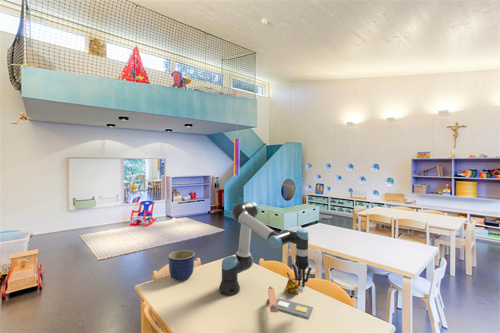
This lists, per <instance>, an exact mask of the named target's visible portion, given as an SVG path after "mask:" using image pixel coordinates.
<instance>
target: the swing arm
mask: <svg viewBox="0 0 500 333" xmlns="http://www.w3.org/2000/svg"><path fill="white" fill-rule="evenodd" d="M275 293H276V292H275V288H273V286H268V288H267V295H268V299H269V304H268V305H269V311H270V313H278V310H277V304H276V300H277V299H276V294H275Z"/></svg>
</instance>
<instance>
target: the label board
mask: <svg viewBox="0 0 500 333" xmlns="http://www.w3.org/2000/svg"><path fill="white" fill-rule="evenodd" d="M276 304H277V311H279V312H284V313H287V314H291V315H294V316H297V317H300V318H304V319H310V317H311V314H312V312H313V311H314V310H313V309H314V307H313V306H310V305H307V304H302V303H299V302H295V301H291V300H288V299H287V300H286V299H283V298H280V297H277V299H276Z"/></svg>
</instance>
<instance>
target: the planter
mask: <svg viewBox="0 0 500 333" xmlns="http://www.w3.org/2000/svg"><path fill="white" fill-rule="evenodd" d="M195 255H196V254H195V252H194V251H192V250H187V249H182V250H176V251H172V252H171V253H169V254H168V268H169V269H168V271H169V276H170V277H171V278H172V279H173V280H175V281H178V282H179V281H185V280H188V279H190V277H191V276H193V272H194V269H195V266H194V264H195Z"/></svg>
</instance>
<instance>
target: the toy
mask: <svg viewBox="0 0 500 333" xmlns="http://www.w3.org/2000/svg"><path fill="white" fill-rule="evenodd" d="M286 275H287V277H288V279H287V283H286V286H285V288H284V290H287V291H288V292H289V293H292V292H295V293H296V294H297V295H298V294H300V286H298V280H296V279H295V277H290V274H289V272H286Z"/></svg>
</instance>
